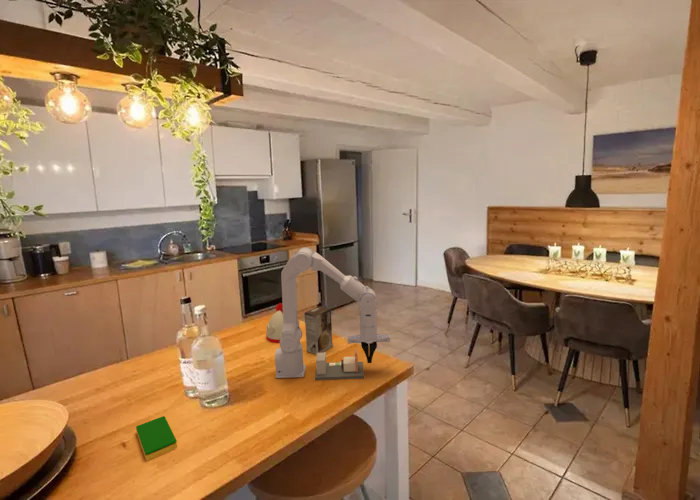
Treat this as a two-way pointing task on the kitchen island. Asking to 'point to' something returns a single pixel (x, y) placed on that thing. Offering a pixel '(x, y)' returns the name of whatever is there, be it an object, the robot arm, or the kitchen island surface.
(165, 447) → the dish sponge
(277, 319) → the kitchen timer
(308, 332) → the coffee box
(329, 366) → the board
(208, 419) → the kitchen island surface
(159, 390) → the kitchen island surface
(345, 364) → the cream and red block
